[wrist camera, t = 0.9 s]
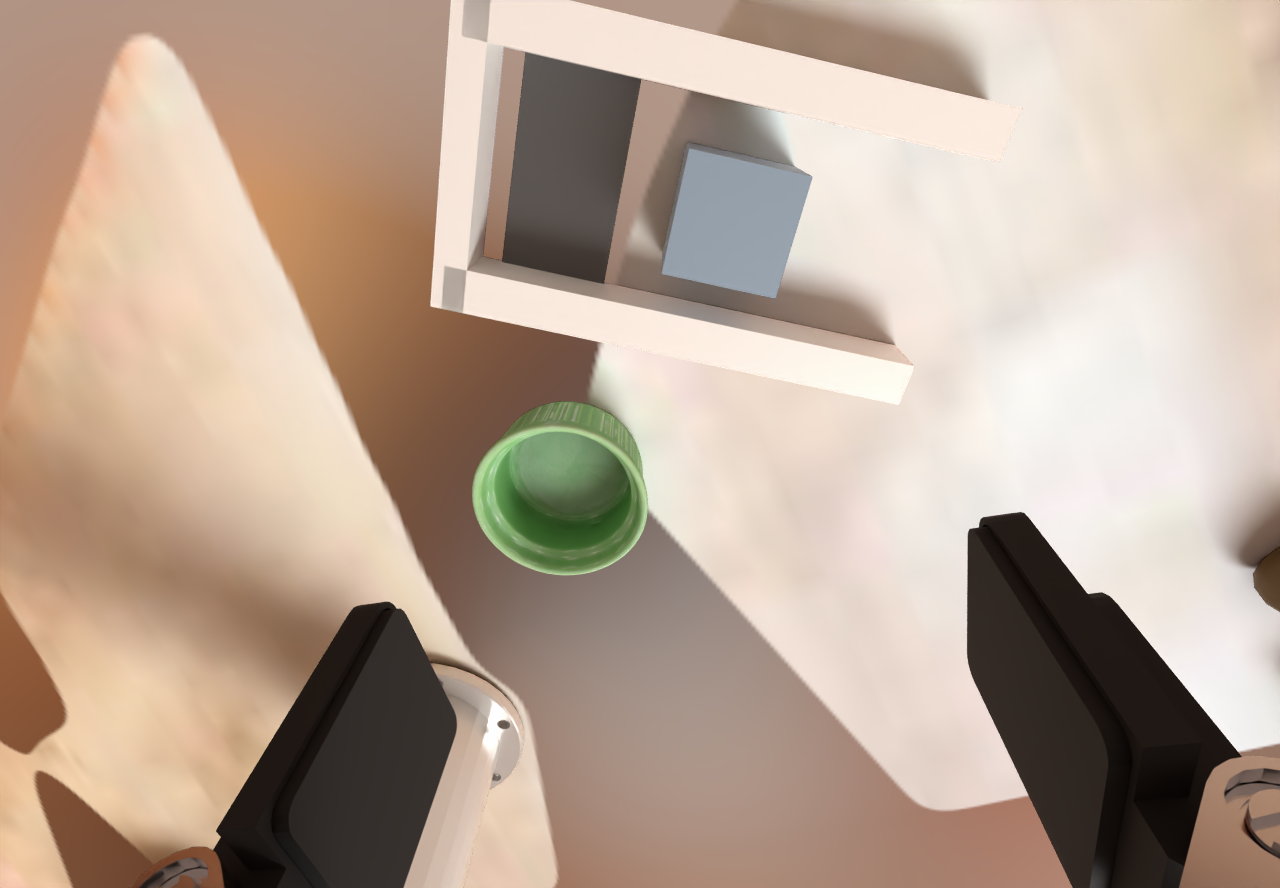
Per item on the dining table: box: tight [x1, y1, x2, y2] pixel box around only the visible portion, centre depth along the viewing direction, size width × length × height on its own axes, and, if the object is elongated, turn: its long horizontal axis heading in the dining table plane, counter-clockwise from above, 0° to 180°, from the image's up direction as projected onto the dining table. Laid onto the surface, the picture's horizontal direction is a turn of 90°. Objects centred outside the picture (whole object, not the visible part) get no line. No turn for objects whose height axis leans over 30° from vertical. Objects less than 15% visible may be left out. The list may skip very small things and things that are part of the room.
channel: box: [431, 0, 1022, 405], centre depth 30 cm, size 13×22×3 cm, turn 78°
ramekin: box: [472, 401, 648, 575], centre depth 36 cm, size 9×9×4 cm
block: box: [662, 142, 812, 299], centre depth 30 cm, size 5×5×4 cm
